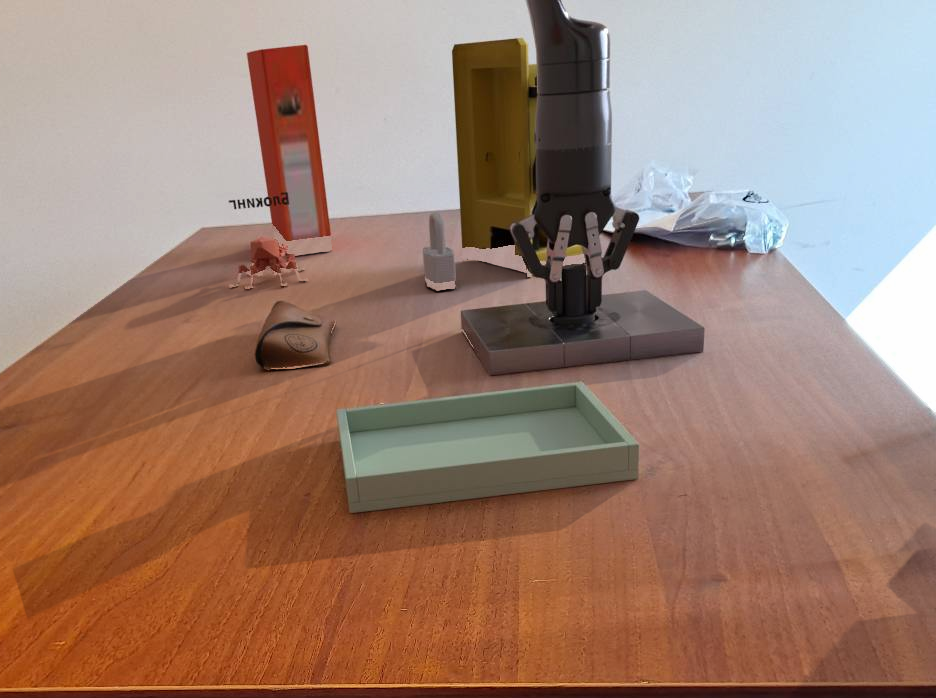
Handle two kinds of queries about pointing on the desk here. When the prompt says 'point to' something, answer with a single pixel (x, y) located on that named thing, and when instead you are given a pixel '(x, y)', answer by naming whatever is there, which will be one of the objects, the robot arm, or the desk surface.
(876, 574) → the desk surface
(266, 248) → the beetle
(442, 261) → the padlock
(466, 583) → the desk surface
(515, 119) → the vintage telephone
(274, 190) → the file binder
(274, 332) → the sunglasses case
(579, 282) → the plug
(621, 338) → the plate
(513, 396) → the tray
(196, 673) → the desk surface
